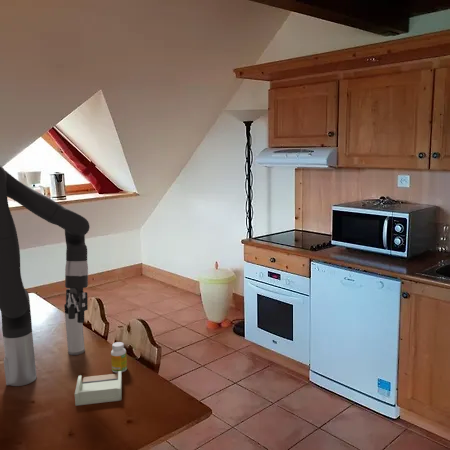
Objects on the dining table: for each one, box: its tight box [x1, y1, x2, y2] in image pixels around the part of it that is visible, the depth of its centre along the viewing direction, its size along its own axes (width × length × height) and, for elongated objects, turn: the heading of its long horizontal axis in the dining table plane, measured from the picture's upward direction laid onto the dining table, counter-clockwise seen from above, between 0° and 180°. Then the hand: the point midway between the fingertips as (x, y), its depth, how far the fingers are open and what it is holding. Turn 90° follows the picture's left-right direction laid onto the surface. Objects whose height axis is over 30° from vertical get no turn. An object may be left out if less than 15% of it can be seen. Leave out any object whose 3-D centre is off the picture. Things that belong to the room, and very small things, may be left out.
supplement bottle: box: [110, 341, 128, 374], centre depth 172 cm, size 5×5×10 cm
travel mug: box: [64, 303, 86, 356], centre depth 187 cm, size 6×7×20 cm
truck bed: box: [74, 371, 123, 406], centre depth 159 cm, size 14×17×4 cm
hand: (76, 320), depth 167 cm, fingers open, 8 cm apart
